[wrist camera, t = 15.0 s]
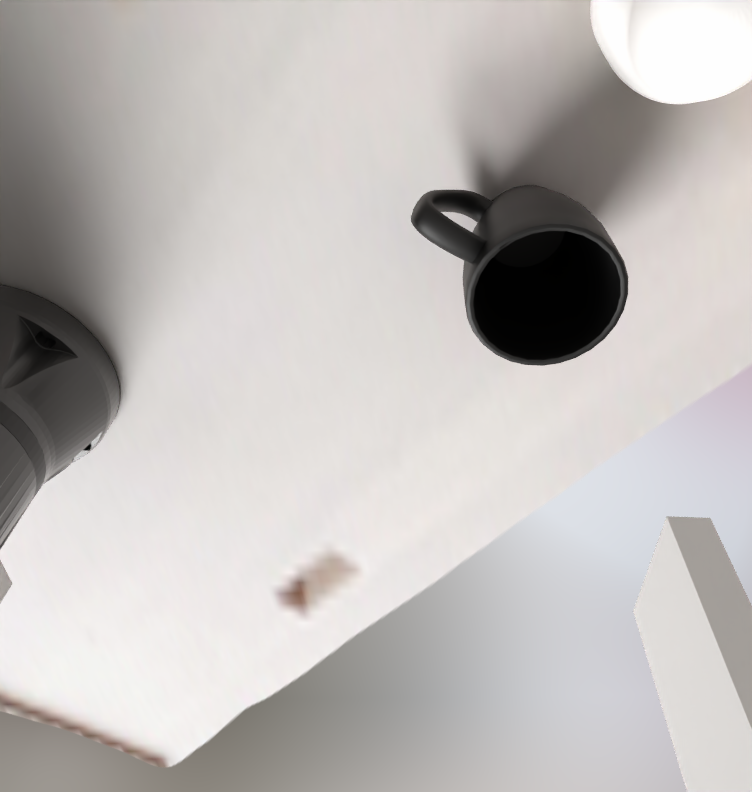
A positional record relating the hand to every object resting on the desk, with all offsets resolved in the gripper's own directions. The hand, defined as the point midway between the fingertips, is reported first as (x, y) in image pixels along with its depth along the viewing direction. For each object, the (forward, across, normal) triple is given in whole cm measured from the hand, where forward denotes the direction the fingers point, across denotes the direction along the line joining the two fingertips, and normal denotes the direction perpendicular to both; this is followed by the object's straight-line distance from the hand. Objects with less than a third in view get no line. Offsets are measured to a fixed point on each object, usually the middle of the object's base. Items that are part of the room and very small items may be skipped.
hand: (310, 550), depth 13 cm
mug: (+32, +7, -5) cm, 33 cm away
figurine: (+32, +14, +6) cm, 35 cm away
